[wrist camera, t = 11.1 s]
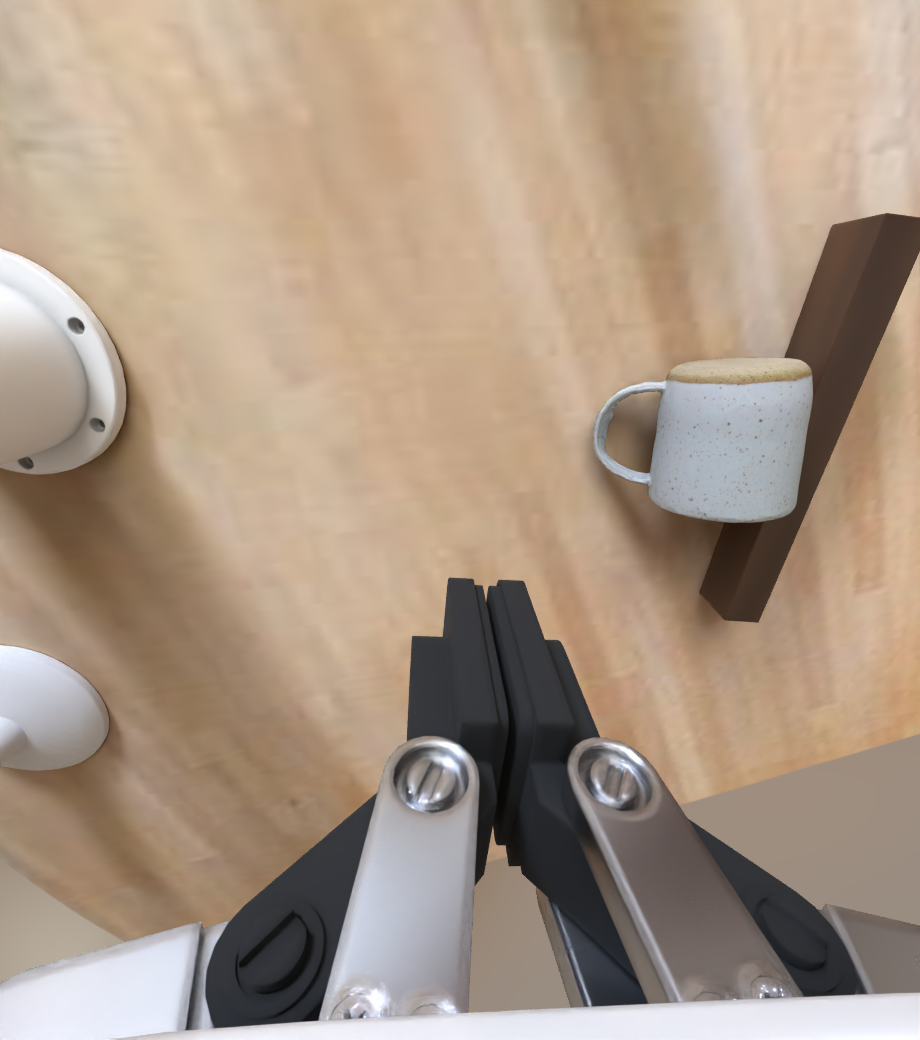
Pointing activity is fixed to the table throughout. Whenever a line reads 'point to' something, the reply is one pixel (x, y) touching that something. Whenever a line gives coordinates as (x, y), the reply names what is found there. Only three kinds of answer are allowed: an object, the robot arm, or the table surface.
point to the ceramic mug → (723, 438)
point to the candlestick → (46, 712)
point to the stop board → (820, 391)
